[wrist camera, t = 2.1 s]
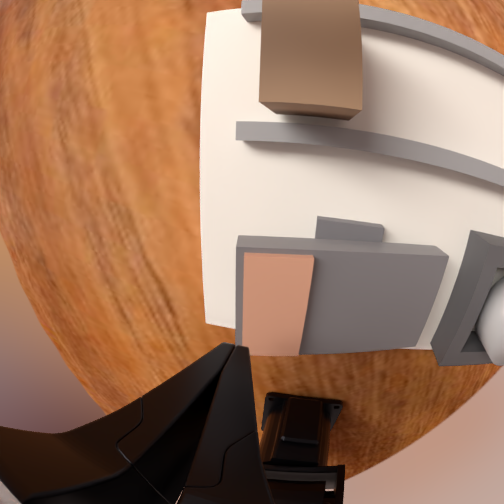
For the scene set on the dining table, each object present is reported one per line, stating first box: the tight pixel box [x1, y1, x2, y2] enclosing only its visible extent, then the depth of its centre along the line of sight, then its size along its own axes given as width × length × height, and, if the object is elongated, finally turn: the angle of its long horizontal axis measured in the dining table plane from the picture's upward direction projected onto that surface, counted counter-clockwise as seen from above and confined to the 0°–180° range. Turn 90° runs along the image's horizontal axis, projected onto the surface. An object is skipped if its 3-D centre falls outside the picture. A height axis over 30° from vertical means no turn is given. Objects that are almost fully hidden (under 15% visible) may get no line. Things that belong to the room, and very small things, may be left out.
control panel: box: [200, 0, 504, 366], centre depth 10 cm, size 17×22×4 cm
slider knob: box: [259, 0, 363, 121], centre depth 7 cm, size 4×3×4 cm
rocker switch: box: [235, 235, 449, 356], centre depth 11 cm, size 5×9×2 cm, turn 88°
